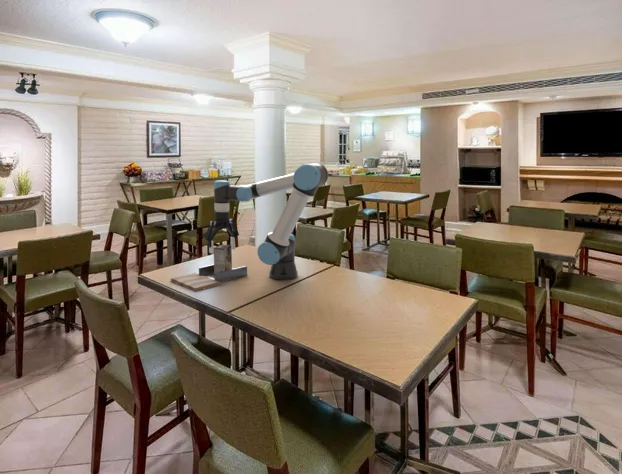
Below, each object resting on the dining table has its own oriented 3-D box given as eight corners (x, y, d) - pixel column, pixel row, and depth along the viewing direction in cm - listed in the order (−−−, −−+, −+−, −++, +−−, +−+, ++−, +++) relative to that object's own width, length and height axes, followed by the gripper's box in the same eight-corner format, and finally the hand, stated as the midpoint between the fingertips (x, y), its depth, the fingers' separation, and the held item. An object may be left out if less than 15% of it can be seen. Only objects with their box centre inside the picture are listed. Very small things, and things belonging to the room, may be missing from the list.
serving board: (220, 284, 205) (220, 281, 204) (195, 291, 194) (195, 288, 194) (195, 275, 219) (195, 272, 219) (171, 281, 209) (170, 278, 208)
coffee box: (221, 273, 224) (220, 244, 221) (232, 274, 223) (231, 245, 220) (214, 278, 215) (213, 248, 212) (225, 279, 214) (225, 248, 211)
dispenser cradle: (247, 275, 222) (247, 266, 221) (216, 283, 207) (215, 273, 206) (229, 269, 231) (229, 260, 230) (199, 276, 217) (198, 267, 216)
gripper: (236, 208, 224) (236, 246, 228) (196, 212, 205) (197, 253, 210) (245, 209, 219) (245, 248, 223) (205, 214, 201) (206, 256, 205)
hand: (222, 251), depth 216 cm, fingers open, 13 cm apart
